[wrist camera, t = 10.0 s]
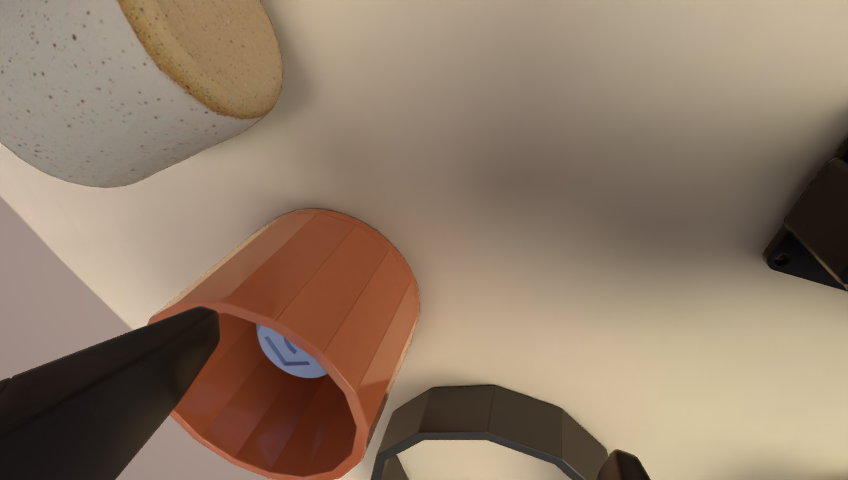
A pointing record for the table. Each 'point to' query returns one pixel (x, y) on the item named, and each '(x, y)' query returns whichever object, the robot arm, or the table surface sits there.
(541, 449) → the dark grey ring
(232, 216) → the table surface
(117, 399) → the robot arm
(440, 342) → the table surface
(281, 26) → the table surface
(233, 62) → the ceramic mug
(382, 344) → the terracotta cup
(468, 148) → the table surface
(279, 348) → the decorative dice
